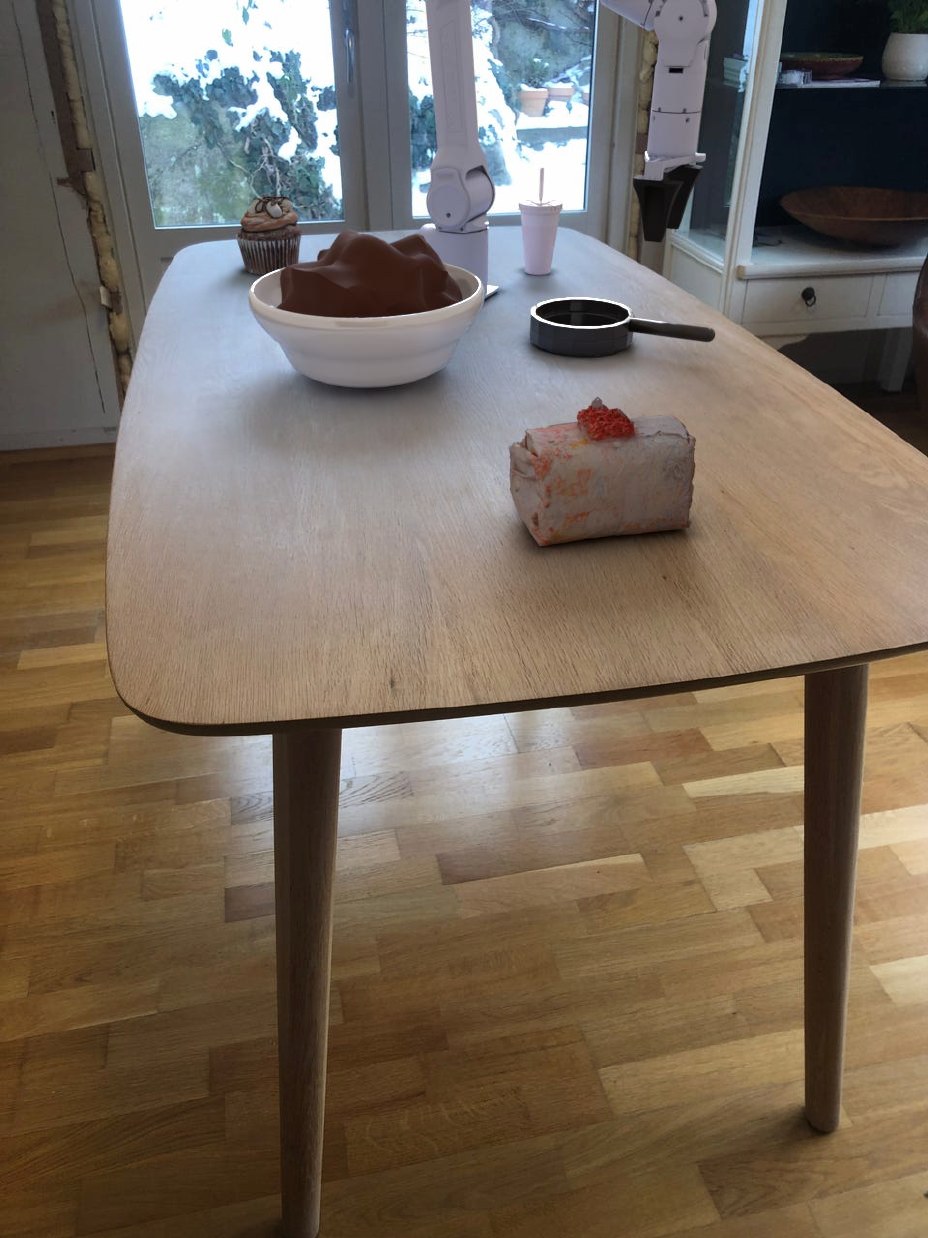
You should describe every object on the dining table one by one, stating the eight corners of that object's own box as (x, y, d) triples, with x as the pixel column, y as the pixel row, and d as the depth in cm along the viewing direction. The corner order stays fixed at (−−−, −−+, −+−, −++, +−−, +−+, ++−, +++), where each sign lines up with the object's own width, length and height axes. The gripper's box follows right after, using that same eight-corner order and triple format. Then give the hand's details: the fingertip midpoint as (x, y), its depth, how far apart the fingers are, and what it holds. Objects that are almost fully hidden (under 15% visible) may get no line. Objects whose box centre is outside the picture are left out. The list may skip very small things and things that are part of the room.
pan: (514, 349, 113) (515, 319, 111) (550, 320, 122) (552, 292, 120) (613, 364, 108) (616, 333, 106) (643, 333, 117) (646, 304, 116)
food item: (528, 557, 73) (533, 436, 67) (503, 509, 79) (505, 395, 74) (695, 538, 75) (714, 420, 69) (657, 493, 81) (671, 382, 76)
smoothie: (559, 266, 144) (565, 165, 136) (558, 277, 139) (564, 172, 131) (517, 265, 145) (520, 164, 137) (515, 276, 139) (518, 172, 132)
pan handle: (622, 332, 111) (623, 318, 111) (626, 328, 113) (627, 315, 112) (712, 344, 108) (714, 330, 107) (715, 340, 109) (717, 326, 108)
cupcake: (251, 258, 148) (243, 189, 142) (312, 261, 147) (306, 190, 141) (230, 275, 140) (220, 202, 135) (294, 277, 139) (287, 203, 133)
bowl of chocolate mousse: (212, 374, 106) (190, 230, 97) (377, 323, 121) (371, 195, 112) (363, 435, 92) (353, 274, 83) (529, 370, 107) (535, 227, 98)
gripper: (694, 119, 103) (678, 250, 111) (724, 105, 114) (708, 225, 122) (631, 116, 106) (620, 244, 113) (667, 102, 117) (654, 220, 124)
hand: (661, 234), depth 118 cm, fingers open, 7 cm apart
